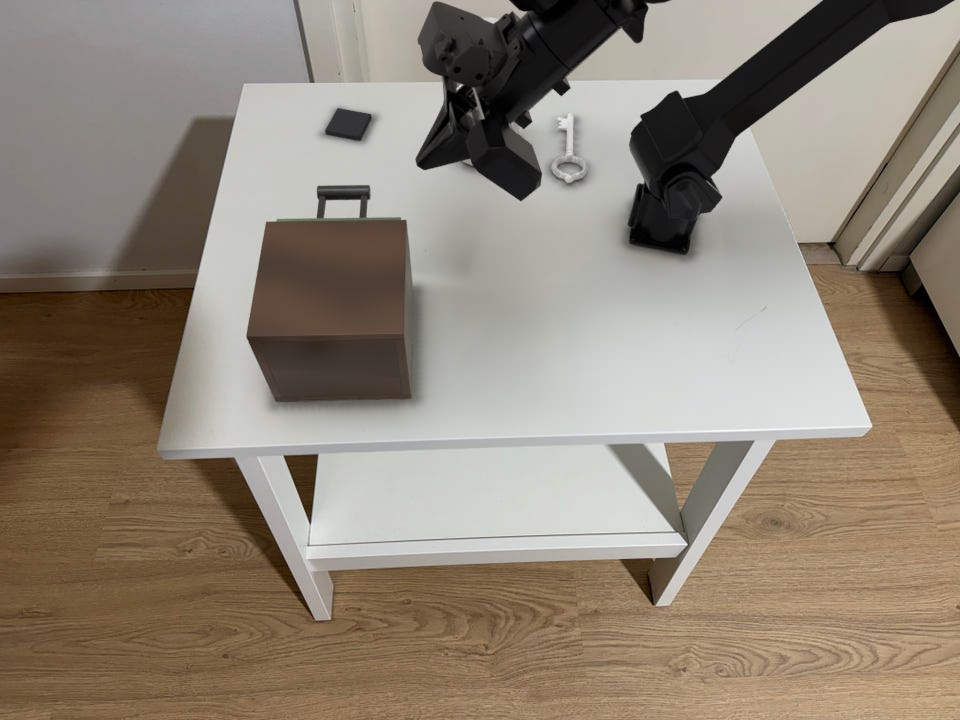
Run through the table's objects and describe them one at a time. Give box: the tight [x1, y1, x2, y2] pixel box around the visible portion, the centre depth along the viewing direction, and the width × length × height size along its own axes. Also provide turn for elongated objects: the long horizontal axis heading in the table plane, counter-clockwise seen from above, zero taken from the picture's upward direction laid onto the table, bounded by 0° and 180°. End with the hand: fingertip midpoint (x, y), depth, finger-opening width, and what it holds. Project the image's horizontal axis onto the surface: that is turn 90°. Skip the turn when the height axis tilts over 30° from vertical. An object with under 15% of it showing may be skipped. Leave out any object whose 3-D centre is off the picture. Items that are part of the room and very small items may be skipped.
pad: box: [324, 107, 372, 141], centre depth 86 cm, size 4×4×1 cm
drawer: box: [275, 184, 402, 221], centre depth 67 cm, size 17×11×9 cm
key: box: [551, 112, 589, 184], centre depth 84 cm, size 12×1×4 cm
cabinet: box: [245, 219, 414, 403], centre depth 64 cm, size 13×13×11 cm
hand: (419, 165), depth 63 cm, fingers closed
